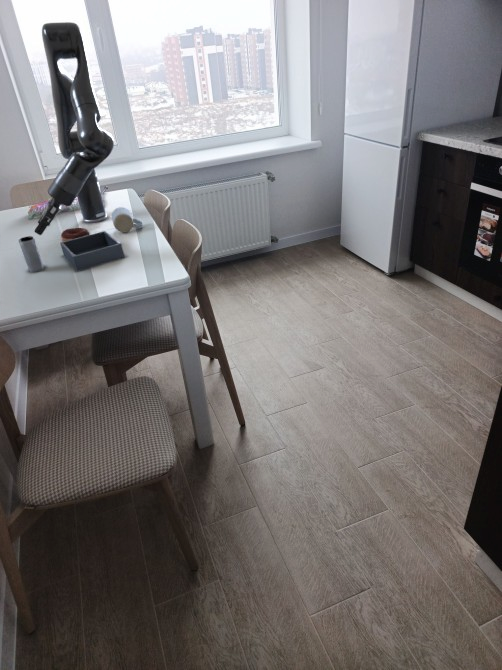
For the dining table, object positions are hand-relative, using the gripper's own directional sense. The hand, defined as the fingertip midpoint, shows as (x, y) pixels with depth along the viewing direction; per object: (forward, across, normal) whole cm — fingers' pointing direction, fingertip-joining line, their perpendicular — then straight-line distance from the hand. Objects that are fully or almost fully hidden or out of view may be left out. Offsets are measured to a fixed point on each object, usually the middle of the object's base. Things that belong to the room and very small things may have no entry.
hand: (39, 228), depth 146 cm
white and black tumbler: (+12, 0, +6) cm, 14 cm away
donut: (+4, -22, +14) cm, 26 cm away
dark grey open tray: (0, -3, +18) cm, 19 cm away
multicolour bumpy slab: (+9, -66, +9) cm, 68 cm away
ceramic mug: (-9, -26, +27) cm, 39 cm away
